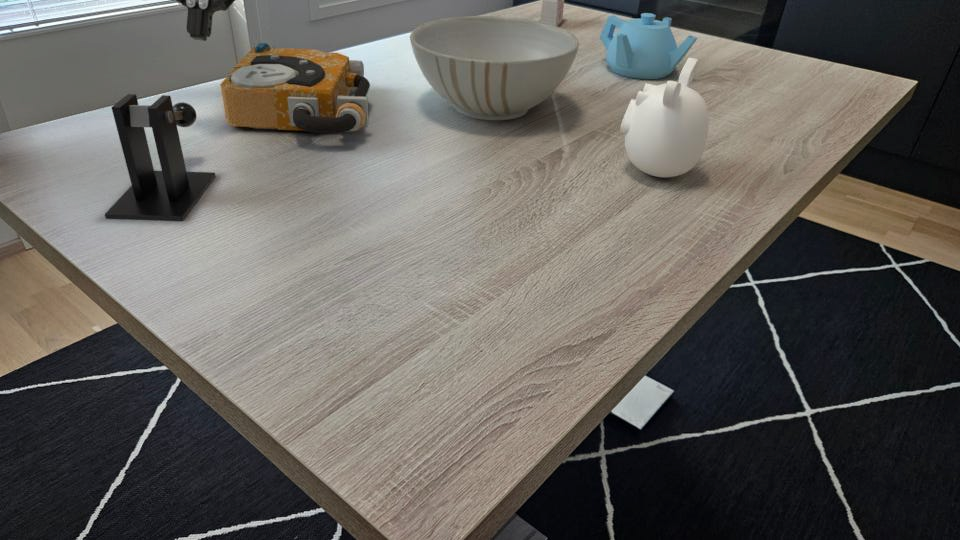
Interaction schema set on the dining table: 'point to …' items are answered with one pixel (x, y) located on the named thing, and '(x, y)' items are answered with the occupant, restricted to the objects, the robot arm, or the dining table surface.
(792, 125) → the dining table surface
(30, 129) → the dining table surface
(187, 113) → the lever
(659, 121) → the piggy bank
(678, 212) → the dining table surface
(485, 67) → the decorative bowl
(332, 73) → the device
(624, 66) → the teapot
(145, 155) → the bracket
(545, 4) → the white rectangular block
